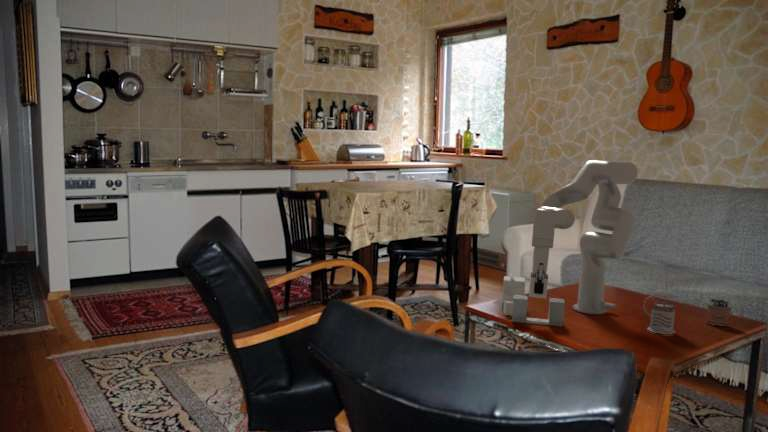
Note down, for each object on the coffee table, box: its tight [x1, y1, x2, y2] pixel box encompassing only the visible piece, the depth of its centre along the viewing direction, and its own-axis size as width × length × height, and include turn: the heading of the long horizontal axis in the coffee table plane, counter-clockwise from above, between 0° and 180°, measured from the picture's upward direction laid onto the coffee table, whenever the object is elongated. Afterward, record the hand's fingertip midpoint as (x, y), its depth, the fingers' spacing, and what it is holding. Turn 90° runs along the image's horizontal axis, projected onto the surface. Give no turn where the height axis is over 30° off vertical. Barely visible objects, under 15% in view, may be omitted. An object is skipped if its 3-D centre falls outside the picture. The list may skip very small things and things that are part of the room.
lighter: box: [705, 298, 732, 326], centre depth 242 cm, size 8×3×10 cm, turn 71°
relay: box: [502, 300, 513, 317], centre depth 245 cm, size 4×4×5 cm
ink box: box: [501, 272, 526, 310], centre depth 255 cm, size 9×8×13 cm
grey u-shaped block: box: [511, 294, 565, 328], centre depth 235 cm, size 18×6×9 cm, turn 78°
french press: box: [643, 262, 678, 334], centre depth 231 cm, size 10×12×25 cm
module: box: [528, 271, 549, 299], centre depth 234 cm, size 6×6×8 cm
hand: (538, 291), depth 234 cm, fingers closed on module, 5 cm apart
